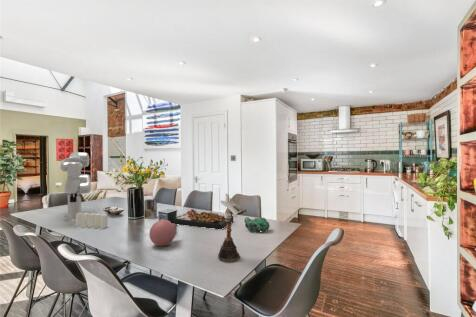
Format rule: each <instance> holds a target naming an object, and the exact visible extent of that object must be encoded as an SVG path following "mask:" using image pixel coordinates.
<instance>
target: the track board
mask: <svg viewBox="0 0 476 317" xmlns="http://www.w3.org/2000/svg"><path fill="white" fill-rule="evenodd" d="M78 228H81V229H85V228H88V226H87V227H84V228H82V226H79V227H78ZM93 229H94V230H97V229H101V227H99V228H96V229H95V228H94V227H93ZM105 229H106V228H104V229H103V230H105Z"/></svg>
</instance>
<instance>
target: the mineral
mask: <svg viewBox="0 0 476 317" xmlns="http://www.w3.org/2000/svg"><path fill="white" fill-rule="evenodd" d="M244 226H245V227H246V229H247V230H248V231H250V233H252V232H260V231H263V232H267V231H268V230H269V229H270V223H269V221H268V220H267V219H266V218H265V217H255V218H254V219H251V218H249V217H247V216H246V217H245V218H244ZM260 233H261V232H260Z"/></svg>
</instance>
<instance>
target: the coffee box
mask: <svg viewBox="0 0 476 317" xmlns="http://www.w3.org/2000/svg"><path fill="white" fill-rule="evenodd" d="M157 201H158V200H157V199H156V198H155V199H154V198H152V199H145V200H144V201H143V202H144V204H143V206H144V208H143V209H144V212H143V214H144V218H143V219H144V220H146V219H147V220H149V219H150V220H151V219H152V220H154V218H155V219H157V218H158V211H157V210H158V202H157Z"/></svg>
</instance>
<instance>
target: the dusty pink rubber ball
mask: <svg viewBox="0 0 476 317" xmlns="http://www.w3.org/2000/svg"><path fill="white" fill-rule="evenodd" d="M178 226H179V225H177V224H174V223H171V220H167V219H160V220H157V221H155V223H153V224H152V225H151V227H150V229H149V235H148V236H149V239H150V241H151V242H152V243H153V244H154V245H155V246H158V247H165V246H167V245H170V244H171V242H173V240H174V239H175V237H176V233H177V232H176V228H177V227H178Z"/></svg>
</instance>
